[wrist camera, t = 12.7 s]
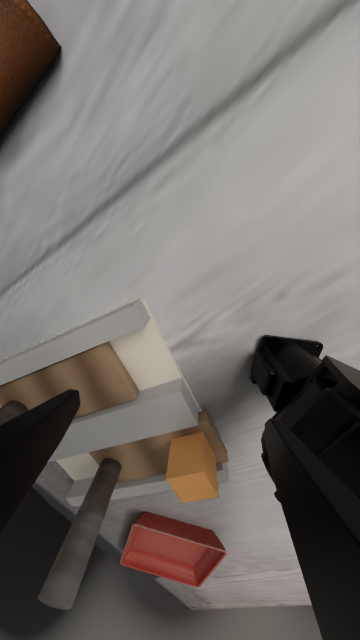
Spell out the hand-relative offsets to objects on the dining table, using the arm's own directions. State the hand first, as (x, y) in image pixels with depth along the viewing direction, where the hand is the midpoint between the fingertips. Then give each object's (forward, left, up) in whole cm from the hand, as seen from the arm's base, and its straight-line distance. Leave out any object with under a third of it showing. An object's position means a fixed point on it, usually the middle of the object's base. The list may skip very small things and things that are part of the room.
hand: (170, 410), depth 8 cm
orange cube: (-3, +17, -10) cm, 20 cm away
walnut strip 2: (+2, +20, -12) cm, 24 cm away
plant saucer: (-2, +50, -14) cm, 52 cm away
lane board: (+11, +17, -13) cm, 24 cm away
